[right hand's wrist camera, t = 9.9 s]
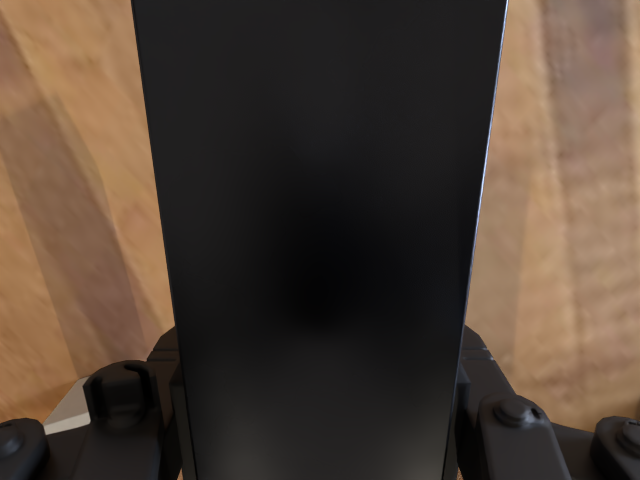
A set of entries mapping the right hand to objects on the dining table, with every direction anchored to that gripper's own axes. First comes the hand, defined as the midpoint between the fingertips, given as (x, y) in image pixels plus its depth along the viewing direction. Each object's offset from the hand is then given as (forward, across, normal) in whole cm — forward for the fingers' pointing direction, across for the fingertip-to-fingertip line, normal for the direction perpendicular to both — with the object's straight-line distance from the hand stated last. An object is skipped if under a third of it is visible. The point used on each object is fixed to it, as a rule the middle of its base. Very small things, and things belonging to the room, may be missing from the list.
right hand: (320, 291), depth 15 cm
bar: (0, 0, -10) cm, 10 cm away
